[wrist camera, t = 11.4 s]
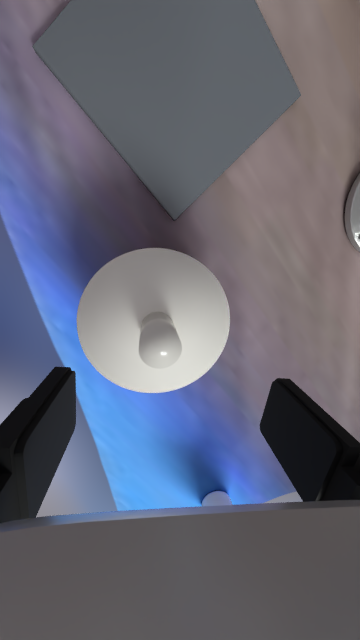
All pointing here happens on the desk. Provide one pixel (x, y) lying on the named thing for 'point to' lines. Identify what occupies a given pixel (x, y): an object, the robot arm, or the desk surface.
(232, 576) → the robot arm
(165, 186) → the mat
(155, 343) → the lid
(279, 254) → the desk surface
